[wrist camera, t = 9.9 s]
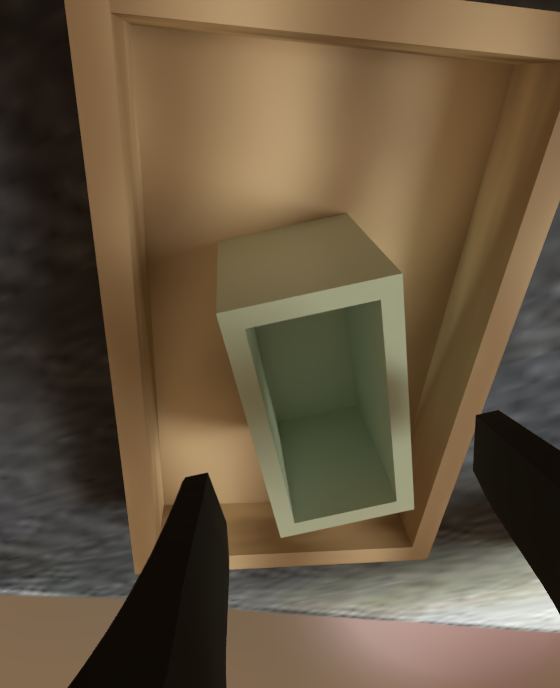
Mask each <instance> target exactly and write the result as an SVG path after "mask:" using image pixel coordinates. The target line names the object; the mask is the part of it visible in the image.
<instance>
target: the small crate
mask: <svg viewBox="0 0 560 688" xmlns="http://www.w3.org/2000/svg"><path fill="white" fill-rule="evenodd" d="M216 315H217V319H218V322H219V326H220V329H221V333H222V336H223V340H224V343H225V347H226V350H227V353H228V357H229V360H230V364H231V367H232V371H233V374H234V378H235V381H236V385H237V388H238V392H239V395H240V399H241V402H242V405H243V409H244V412H245V416H246V419H247V423H248V426H249V430H250V433H251V437H252V440H253V444H254V447H255V451H256V454H257V458H258V461H259V464H260V468H261V471H262V475H263V478H264V482H265V485H266V489H267V492H268V496H269V499H270V503H271V506H272V510H273V513H274V517H275V520H276V523H277V527H278V530H279V534H280V537H281V538H283V537H288V536H293V535H297V534H302V533H307V532H311V531H316V530H320V529H325V528H330V527H334V526H339V525H343V524H348V523H353V522H357V521H362V520H367V519H371V518H376V517H380V516H385V515H390V514H394V513H399V512H404V511H408V510H413V509H414V492H413V472H412V452H411V432H410V412H409V392H408V372H407V352H406V332H405V312H404V292H403V273H402V272H401V271H400V270H399V269H398V268H397V267H396V266H395V265H394V264H393V262H392V261H391V260H390V259H389V258H388V257H387V256H386V255H385V254H384V253H383V252H382V251H381V250H380V248H379V247H378V246H377V245H376V244H375V243H374V242H373V241H372V240H371V239H370V238H369V237H368V235H367V234H366V233H365V232H364V231H363V230H362V229H361V228H360V227H359V226H358V225H357V224H356V223H355V221H354V220H353V219H352V218H351V217H350V216H349V215H348V214H347V213H346V214H341V215H337V216H332V217H327V218H323V219H318V220H314V221H309V222H304V223H300V224H295V225H290V226H286V227H281V228H276V229H272V230H267V231H263V232H258V233H253V234H249V235H244V236H239V237H235V238H230V239H225V240H221V241H218V260H217V296H216Z"/></svg>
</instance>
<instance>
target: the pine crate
mask: <svg viewBox="0 0 560 688" xmlns="http://www.w3.org/2000/svg"><path fill="white" fill-rule="evenodd" d="M64 3H65V11H66V19H67V27H68V35H69V43H70V51H71V59H72V67H73V75H74V84H75V92H76V100H77V108H78V116H79V124H80V132H81V140H82V148H83V156H84V165H85V173H86V181H87V189H88V197H89V205H90V213H91V221H92V229H93V237H94V245H95V254H96V262H97V270H98V278H99V286H100V294H101V302H102V310H103V318H104V326H105V334H106V343H107V351H108V359H109V367H110V375H111V383H112V391H113V399H114V407H115V415H116V424H117V432H118V440H119V448H120V456H121V464H122V472H123V480H124V488H125V496H126V504H127V513H128V521H129V529H130V537H131V545H132V553H133V561H134V569H135V574H140V573H141V572H142V570H143V568H144V566H145V564H146V562H147V560H148V558H149V556H150V554H151V552H152V550H153V548H154V546H155V544H156V542H157V540H158V538H159V535H160V533H161V531H162V529H163V527H164V525H165V522H166V520H167V518H168V516H169V513H170V511H171V509H172V506H173V504H174V501H175V499H176V496H177V494H178V491H179V489H180V486H181V484H182V481H183V480H184V478H185V477H189V476H193V475H198V474H203V473H207V472H208V474H209V477H210V479H211V482H212V485H213V487H214V490H215V493H216V495H217V498H218V501H219V503H220V506H221V509H222V511H223V514H224V517H225V519H226V522H227V533H228V546H229V569H249V568H269V567H288V566H308V565H328V564H348V563H368V562H387V561H407V560H427V559H428V556H429V553H430V551H431V548H432V545H433V542H434V540H435V537H436V534H437V532H438V529H439V526H440V523H441V521H442V518H443V515H444V513H445V510H446V507H447V505H448V502H449V499H450V496H451V494H452V491H453V488H454V486H455V483H456V480H457V477H458V475H459V472H460V469H461V467H462V464H463V461H464V458H465V456H466V453H467V450H468V448H469V445H470V442H471V439H472V437H473V434H474V431H475V419H476V415H479V414H481V412H482V410H483V407H484V404H485V401H486V399H487V396H488V393H489V391H490V388H491V385H492V382H493V380H494V377H495V374H496V372H497V369H498V366H499V364H500V361H501V358H502V355H503V353H504V350H505V347H506V345H507V342H508V339H509V336H510V334H511V331H512V328H513V326H514V323H515V320H516V317H517V315H518V312H519V309H520V307H521V304H522V301H523V298H524V296H525V293H526V290H527V288H528V285H529V282H530V279H531V277H532V274H533V271H534V269H535V266H536V263H537V260H538V258H539V255H540V252H541V250H542V247H543V244H544V241H545V239H546V236H547V233H548V231H549V228H550V225H551V223H552V220H553V217H554V214H555V212H556V209H557V206H558V204H559V201H560V12H555V11H547V10H539V9H530V8H522V7H514V6H505V5H497V4H489V3H481V2H472V1H464V0H64ZM346 213H347V214H348V215H349V216H350V217H351V218H352V219H353V220H354V221H355V223H356V224H357V225H358V226H359V227H360V228H361V229H362V230H363V231H364V232H365V233H366V234H367V235H368V237H369V238H370V239H371V240H372V241H373V242H374V243H375V244H376V245H377V246H378V247H379V248H380V250H381V251H382V252H383V253H384V254H385V255H386V256H387V257H388V258H389V259H390V260H391V261H392V262H393V264H394V265H395V266H396V267H397V268H398V269H399V270H400V271H401V272H402V273H403V292H404V312H405V332H406V352H407V372H408V392H409V412H410V432H411V452H412V472H413V492H414V509H413V510H408V511H404V512H399V513H394V514H390V515H385V516H380V517H376V518H371V519H367V520H362V521H357V522H353V523H348V524H343V525H339V526H334V527H330V528H325V529H320V530H316V531H311V532H307V533H302V534H297V535H293V536H288V537H283V538H281V537H280V534H279V530H278V527H277V523H276V520H275V517H274V513H273V510H272V506H271V503H270V499H269V496H268V492H267V489H266V485H265V482H264V478H263V475H262V471H261V468H260V464H259V461H258V458H257V454H256V451H255V447H254V444H253V440H252V437H251V433H250V430H249V426H248V423H247V419H246V416H245V412H244V409H243V405H242V402H241V399H240V395H239V392H238V388H237V385H236V381H235V378H234V374H233V371H232V367H231V364H230V360H229V357H228V353H227V350H226V347H225V343H224V340H223V336H222V333H221V329H220V326H219V322H218V319H217V315H216V296H217V260H218V241H221V240H225V239H230V238H235V237H239V236H244V235H249V234H253V233H258V232H263V231H267V230H272V229H276V228H281V227H286V226H290V225H295V224H300V223H304V222H309V221H314V220H318V219H323V218H327V217H332V216H337V215H341V214H346Z"/></svg>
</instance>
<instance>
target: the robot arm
mask: <svg viewBox="0 0 560 688" xmlns="http://www.w3.org/2000/svg"><path fill="white" fill-rule="evenodd" d="M473 471H474V473H475V475H476V477H477V479H478V481H479V483H480V485H481V487H482V490H483V491H484V493H485V495H486V497H487V499H488V501H489V503H490V505H491V507H492V508H493V510H494V511H495V513H496V515H497V516H498V518H499V519H500V521H501V522H502V524H503V525H504V527H505V528H506V530H507V532H508V533H509V535H510V536H511V538H512V539H513V541H514V542H515V544H516V545H517V547H518V548H519V550H520V551H521V553H522V554H523V556H524V557H525V559H526V560H527V562H528V563H529V565H530V566H531V568H532V569H533V571H534V572H535V574H536V576H537V577H538V579H539V580H540V582H541V583H542V585H543V586H544V588H545V590H546V591H547V593H548V595H549V596H550V598H551V599H552V601H553V603H554V605H555V606H556V608H557V610H558V612H559V614H560V450H558V449H557V448H555V447H554V446H552V445H550V444H549V443H547V442H546V441H544V440H543V439H541V438H540V437H538V436H537V435H535V434H534V433H532V432H531V431H529V430H528V429H526V428H525V427H523V426H522V425H520V424H519V423H517V422H516V421H514V420H513V419H511V418H510V417H508V416H507V415H505V414H503V413H502V412H500V411H499V410H497V411H493V412H488V413H483V414H479V415H476V419H475V440H474V461H473ZM228 588H229V546H228V533H227V522H226V519H225V517H224V514H223V511H222V509H221V506H220V503H219V501H218V498H217V495H216V493H215V490H214V487H213V485H212V482H211V479H210V477H209V474H208V472H207V473H203V474H198V475H193V476H189V477H185V478H184V480H183V481H182V484H181V486H180V489H179V491H178V494H177V496H176V499H175V501H174V504H173V506H172V509H171V511H170V513H169V516H168V518H167V520H166V522H165V525H164V527H163V529H162V531H161V533H160V535H159V538H158V540H157V542H156V544H155V546H154V548H153V550H152V552H151V554H150V556H149V558H148V560H147V562H146V564H145V566H144V568H143V570H142V572H141V573H140V575H139V577H138V579H137V581H136V583H135V585H134V587H133V589H132V590H131V592H130V594H129V596H128V597H127V599H126V601H125V603H124V604H123V606H122V608H121V609H120V611H119V613H118V614H117V616H116V617H115V619H114V621H113V622H112V624H111V626H110V627H109V629H108V630H107V632H106V633H105V635H104V637H103V638H102V639H101V641H100V642H99V644H98V645H97V647H96V648H95V650H94V651H93V653H92V654H91V656H90V657H89V659H88V660H87V662H86V663H85V665H84V666H83V667H82V669H81V670H80V671H79V673H78V674H77V676H76V677H75V678H74V680H73V681H72V682H71V684H70V685H69V686H68V688H226V635H227V612H228Z"/></svg>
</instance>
